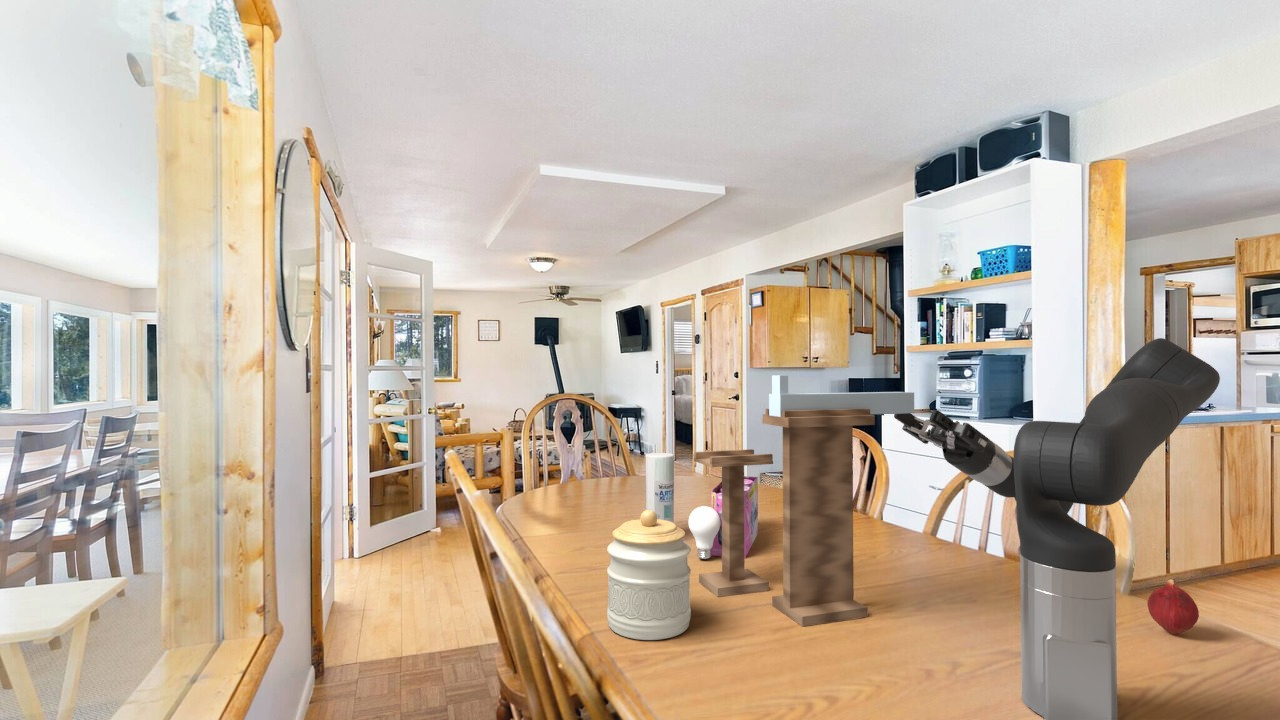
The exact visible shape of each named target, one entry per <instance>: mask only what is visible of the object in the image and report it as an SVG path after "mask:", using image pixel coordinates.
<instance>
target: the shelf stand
mask: <svg viewBox="0 0 1280 720" xmlns="http://www.w3.org/2000/svg"><path fill="white" fill-rule="evenodd" d="M875 415H876V414H870V409H832V410H792V411H782V417H777V416H770V415H769V408H765V414H762V415H761V416H762V417H761V419H762V422H761V423H762V424H763V425H770V426H775V427H781V428H782V561H783V562H782V576H783V578H782V579H783V581H782V583H783V584H782V587H783V590H782V593H783V595H782V594H781V595H774V596H772V601H771V602H772V603H771V605H772V607H774V608H775V609H777V610H778V611H780V613H782V614H784V615H785V616H787V618H790V619H791V620H793V621H794V622H795V623H797V624H798V625H799V626H800V627H808V626H814V625H816V626H817V625H821V624H828V623H834V622H835V623H836V622H841V621H848V620H854V619H860V618H861V619H862V618H868V617H869V615H868V611H869V609H868V606H866V605H864V604H862V603H861V602H858V600H855V598H854V595H855V593H854V590H855V589H854V587H855V586H854V579H855V578H854V457H853V456H854V453H853V450H854V449H853V447H854V445H853V443H854V441H853V440H854V439H853V437H854V436H853V435H854V434H853V433H854V432H853V430H854V427H853V426H874V425H876V424H875V423H876V419H875Z"/></svg>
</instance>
